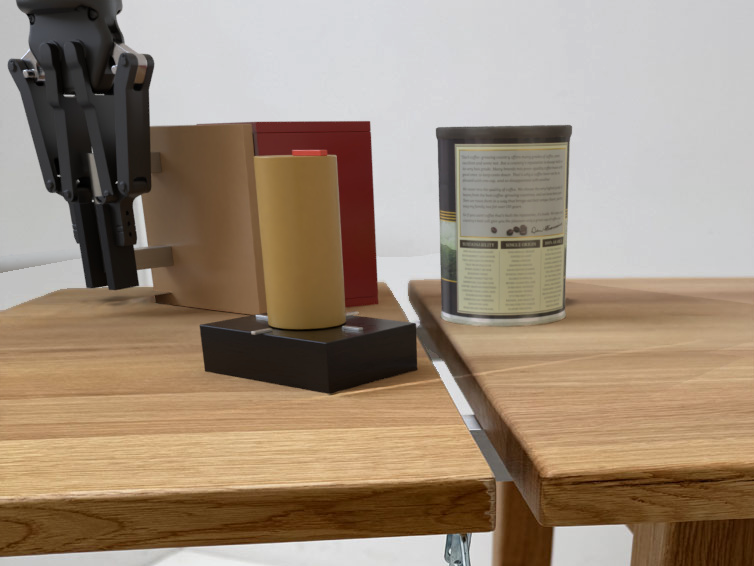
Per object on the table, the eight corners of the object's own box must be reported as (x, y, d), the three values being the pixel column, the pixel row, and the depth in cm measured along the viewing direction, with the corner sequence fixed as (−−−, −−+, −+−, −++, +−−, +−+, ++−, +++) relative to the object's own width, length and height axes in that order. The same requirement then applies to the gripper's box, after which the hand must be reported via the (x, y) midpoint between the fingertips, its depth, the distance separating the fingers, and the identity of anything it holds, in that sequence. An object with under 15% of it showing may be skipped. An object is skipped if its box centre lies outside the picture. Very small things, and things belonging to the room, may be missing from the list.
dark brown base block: (198, 374, 65) (192, 323, 63) (300, 351, 71) (296, 304, 70) (323, 397, 59) (319, 341, 57) (422, 370, 65) (421, 319, 64)
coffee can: (413, 317, 83) (407, 126, 77) (503, 303, 90) (504, 125, 84) (502, 333, 77) (503, 124, 71) (592, 316, 83) (600, 124, 77)
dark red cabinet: (273, 316, 85) (256, 121, 79) (214, 297, 95) (195, 124, 89) (378, 305, 90) (370, 120, 84) (312, 288, 100) (300, 123, 94)
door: (200, 327, 80) (176, 123, 74) (94, 312, 87) (65, 126, 81) (268, 314, 85) (251, 123, 79) (164, 301, 92) (141, 126, 86)
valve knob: (252, 324, 63) (235, 150, 59) (307, 314, 67) (295, 149, 62) (307, 332, 60) (293, 150, 56) (362, 321, 64) (353, 149, 60)
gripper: (175, -50, 75) (212, 286, 85) (32, -34, 81) (82, 276, 91) (97, -64, 69) (147, 299, 79) (-50, -46, 75) (14, 287, 85)
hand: (112, 286), depth 85 cm, fingers closed on door, 2 cm apart
